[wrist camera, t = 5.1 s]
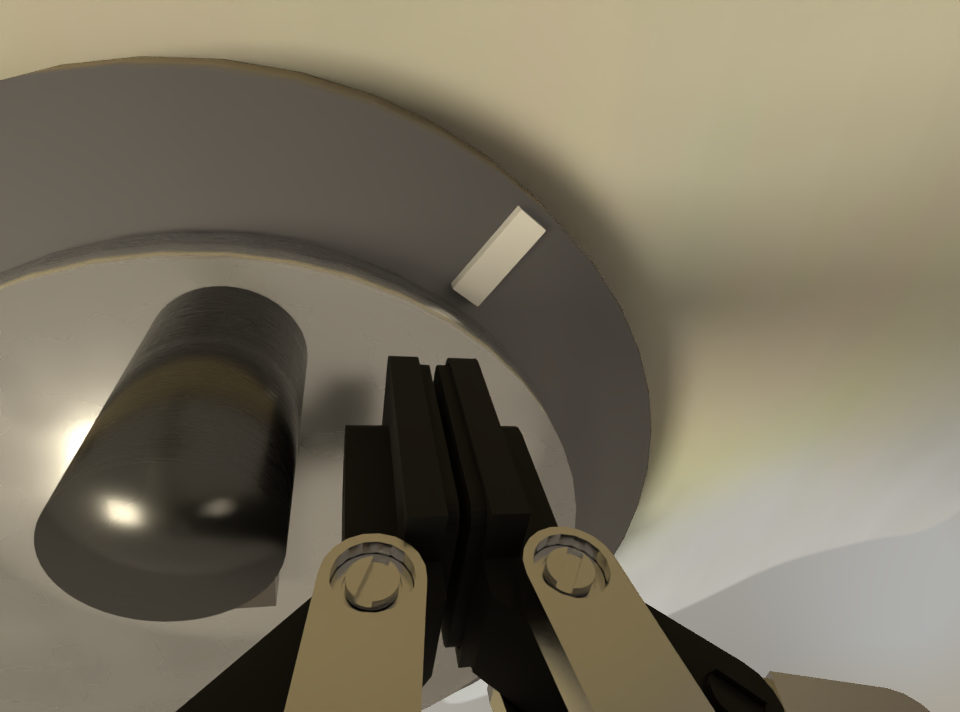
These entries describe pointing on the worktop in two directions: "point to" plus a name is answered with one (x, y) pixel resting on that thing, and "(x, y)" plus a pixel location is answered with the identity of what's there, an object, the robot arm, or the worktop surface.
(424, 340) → the dial
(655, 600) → the worktop surface
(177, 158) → the dial base
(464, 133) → the worktop surface
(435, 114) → the worktop surface
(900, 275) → the worktop surface
